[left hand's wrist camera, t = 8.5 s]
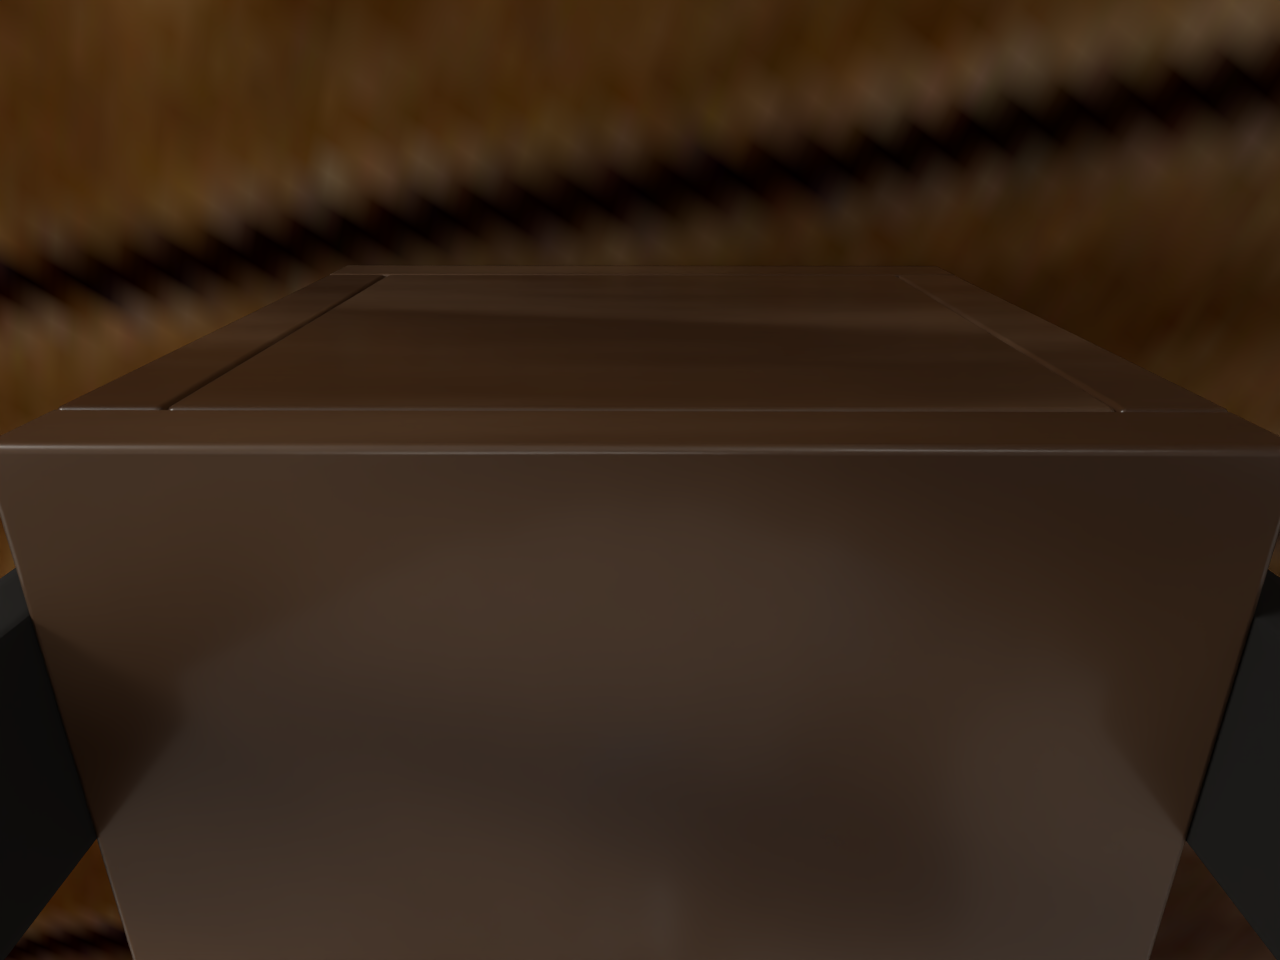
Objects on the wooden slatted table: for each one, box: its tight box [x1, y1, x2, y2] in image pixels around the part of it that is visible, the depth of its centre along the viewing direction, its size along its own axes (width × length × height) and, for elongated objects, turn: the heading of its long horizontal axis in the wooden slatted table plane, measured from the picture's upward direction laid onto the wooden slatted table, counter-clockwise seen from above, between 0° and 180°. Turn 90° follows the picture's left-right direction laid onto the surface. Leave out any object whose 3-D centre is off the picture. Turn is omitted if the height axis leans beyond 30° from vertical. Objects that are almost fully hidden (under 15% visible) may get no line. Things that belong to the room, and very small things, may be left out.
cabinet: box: [0, 265, 1280, 960], centre depth 16 cm, size 21×11×10 cm, turn 0°
